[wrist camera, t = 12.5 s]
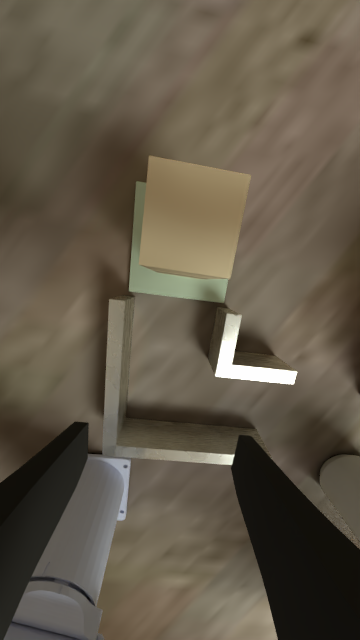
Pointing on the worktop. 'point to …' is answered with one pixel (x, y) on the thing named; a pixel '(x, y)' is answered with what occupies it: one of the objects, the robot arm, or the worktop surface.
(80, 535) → the robot arm
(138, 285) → the end pad
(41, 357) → the worktop surface
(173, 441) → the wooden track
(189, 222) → the birch block
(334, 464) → the beverage can
